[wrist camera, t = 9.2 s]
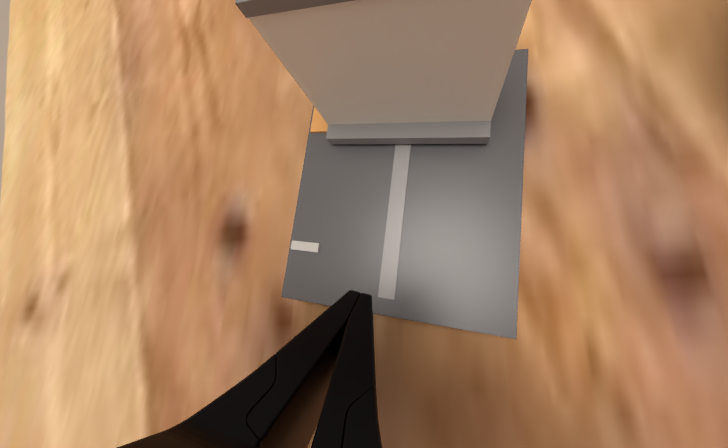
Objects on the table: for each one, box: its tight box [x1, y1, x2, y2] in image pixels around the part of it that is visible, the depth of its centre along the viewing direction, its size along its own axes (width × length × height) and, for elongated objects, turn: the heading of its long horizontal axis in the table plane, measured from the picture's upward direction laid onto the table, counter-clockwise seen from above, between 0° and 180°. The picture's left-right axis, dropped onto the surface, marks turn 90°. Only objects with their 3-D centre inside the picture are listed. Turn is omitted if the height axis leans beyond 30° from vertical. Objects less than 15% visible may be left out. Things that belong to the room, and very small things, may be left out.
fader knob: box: [235, 0, 532, 144], centre depth 13 cm, size 5×10×9 cm, turn 82°
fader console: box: [282, 49, 528, 339], centre depth 19 cm, size 17×14×3 cm
